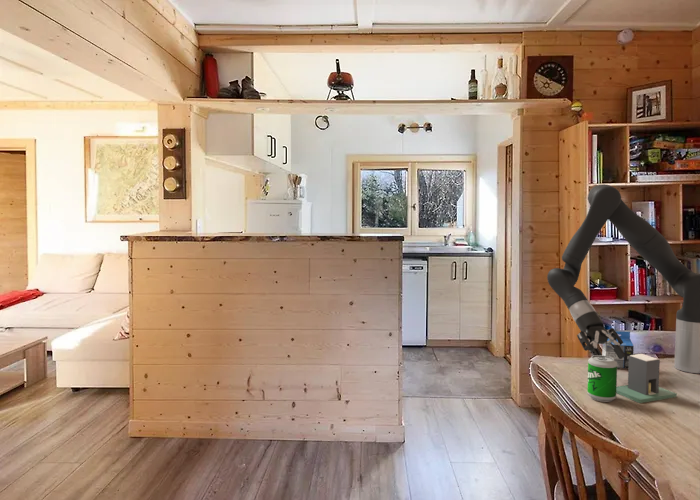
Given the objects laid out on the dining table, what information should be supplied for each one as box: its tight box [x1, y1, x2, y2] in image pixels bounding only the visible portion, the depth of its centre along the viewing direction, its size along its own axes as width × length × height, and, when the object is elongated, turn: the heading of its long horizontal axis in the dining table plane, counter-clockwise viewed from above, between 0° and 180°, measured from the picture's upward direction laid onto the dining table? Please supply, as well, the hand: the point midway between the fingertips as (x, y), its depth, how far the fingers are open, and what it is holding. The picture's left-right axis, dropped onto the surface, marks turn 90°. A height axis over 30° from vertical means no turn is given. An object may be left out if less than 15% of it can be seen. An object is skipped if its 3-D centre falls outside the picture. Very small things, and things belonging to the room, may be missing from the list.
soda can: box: [586, 355, 618, 403], centre depth 138 cm, size 8×8×12 cm
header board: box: [616, 382, 678, 404], centre depth 141 cm, size 14×10×4 cm
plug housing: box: [627, 353, 661, 395], centre depth 141 cm, size 5×6×10 cm
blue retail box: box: [601, 330, 635, 369], centre depth 166 cm, size 9×4×12 cm, turn 77°
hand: (612, 359), depth 152 cm, fingers open, 8 cm apart
